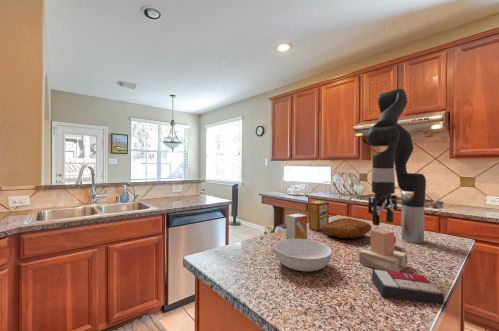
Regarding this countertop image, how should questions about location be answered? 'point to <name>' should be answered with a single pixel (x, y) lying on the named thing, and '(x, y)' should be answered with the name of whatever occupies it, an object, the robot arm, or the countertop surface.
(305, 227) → the small box
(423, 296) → the grey and red box
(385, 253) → the terracotta block
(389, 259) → the birch block
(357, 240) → the countertop surface
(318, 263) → the serving bowl
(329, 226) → the clay tablet
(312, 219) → the baking soda box
